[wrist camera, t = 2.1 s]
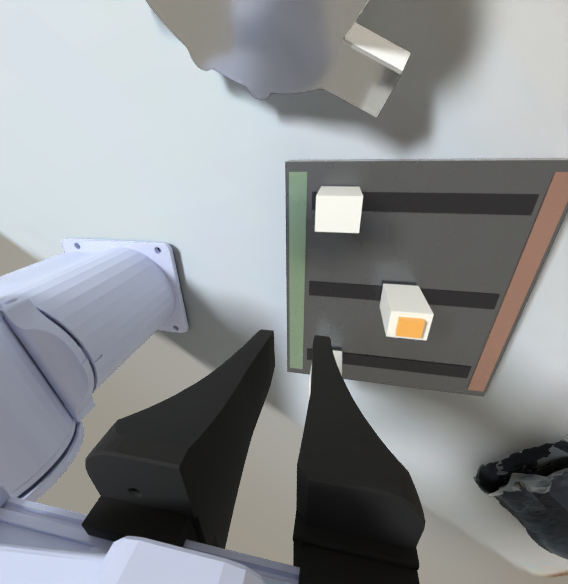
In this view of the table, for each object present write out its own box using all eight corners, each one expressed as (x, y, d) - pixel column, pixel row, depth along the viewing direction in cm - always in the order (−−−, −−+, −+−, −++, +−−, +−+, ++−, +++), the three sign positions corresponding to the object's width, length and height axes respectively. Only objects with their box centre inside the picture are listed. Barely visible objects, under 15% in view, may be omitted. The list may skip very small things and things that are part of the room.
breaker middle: (379, 306, 18) (387, 339, 14) (383, 283, 17) (391, 313, 14) (413, 308, 17) (428, 344, 14) (418, 285, 16) (435, 317, 13)
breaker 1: (319, 216, 16) (314, 231, 13) (321, 186, 15) (316, 195, 12) (356, 217, 15) (358, 233, 13) (359, 186, 15) (363, 196, 12)
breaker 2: (313, 365, 21) (308, 399, 18) (313, 348, 20) (309, 380, 17) (340, 368, 20) (339, 403, 18) (342, 351, 20) (341, 385, 17)
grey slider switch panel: (291, 354, 24) (287, 372, 22) (291, 160, 17) (285, 161, 15) (472, 375, 21) (484, 397, 19) (560, 158, 14) (591, 159, 12)
